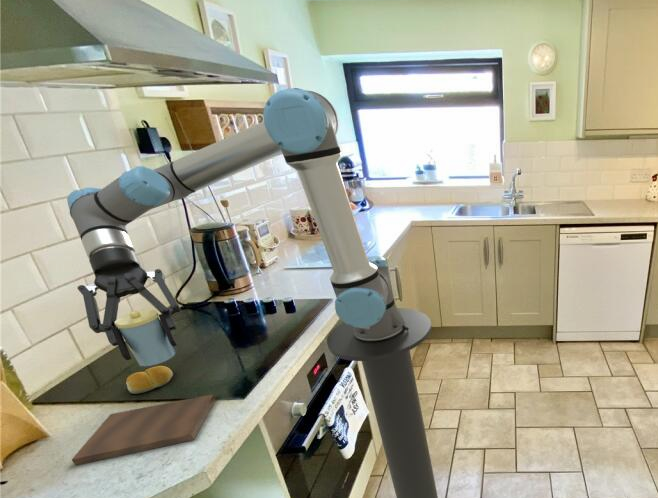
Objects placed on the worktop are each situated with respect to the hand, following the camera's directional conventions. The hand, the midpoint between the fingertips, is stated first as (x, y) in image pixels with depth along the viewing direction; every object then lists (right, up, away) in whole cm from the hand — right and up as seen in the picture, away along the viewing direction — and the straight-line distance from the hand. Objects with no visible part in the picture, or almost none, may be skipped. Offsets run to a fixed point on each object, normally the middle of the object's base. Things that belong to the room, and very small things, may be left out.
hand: (150, 350), depth 84 cm
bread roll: (-16, -10, +19) cm, 27 cm away
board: (-3, -17, +4) cm, 18 cm away
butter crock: (-2, -2, +4) cm, 5 cm away
